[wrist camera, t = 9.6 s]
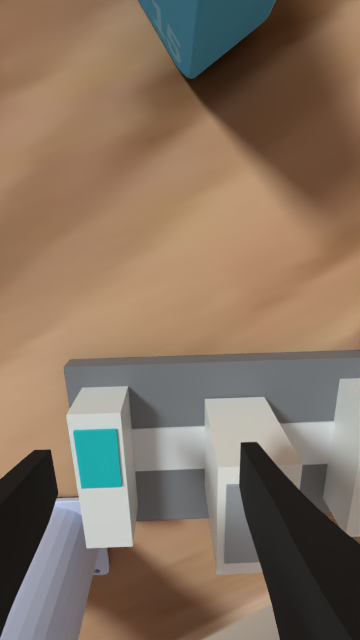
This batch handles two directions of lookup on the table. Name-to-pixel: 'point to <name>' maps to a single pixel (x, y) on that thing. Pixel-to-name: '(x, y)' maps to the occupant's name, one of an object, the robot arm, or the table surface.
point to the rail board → (189, 432)
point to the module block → (223, 474)
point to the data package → (203, 28)
